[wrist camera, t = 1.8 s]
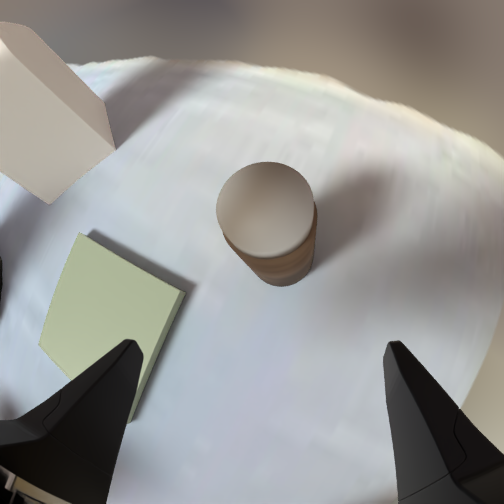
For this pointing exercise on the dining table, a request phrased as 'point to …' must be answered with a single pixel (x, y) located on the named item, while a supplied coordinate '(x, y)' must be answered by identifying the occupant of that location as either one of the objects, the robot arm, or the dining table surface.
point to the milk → (46, 117)
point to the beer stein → (0, 277)
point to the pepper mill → (269, 221)
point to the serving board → (106, 311)
